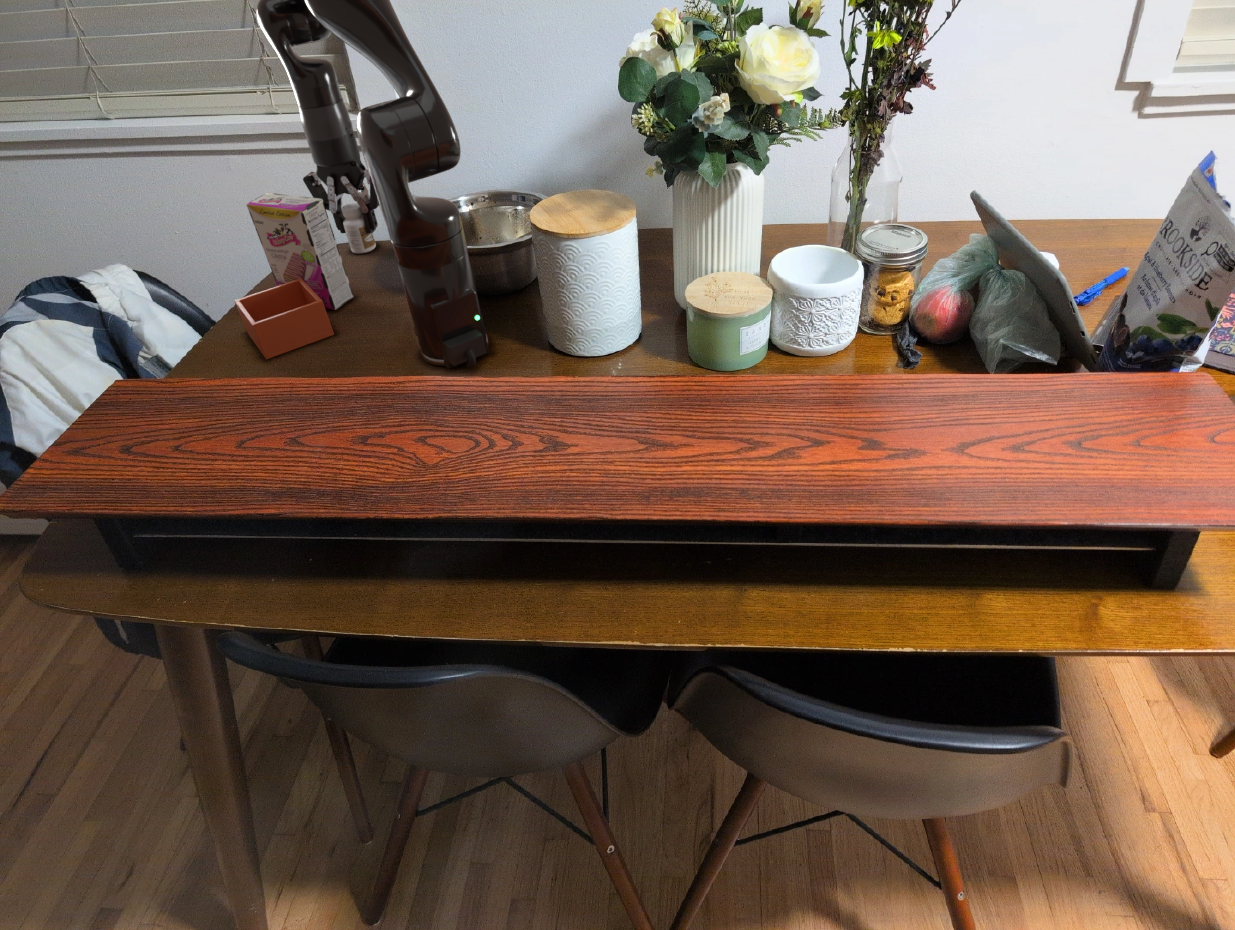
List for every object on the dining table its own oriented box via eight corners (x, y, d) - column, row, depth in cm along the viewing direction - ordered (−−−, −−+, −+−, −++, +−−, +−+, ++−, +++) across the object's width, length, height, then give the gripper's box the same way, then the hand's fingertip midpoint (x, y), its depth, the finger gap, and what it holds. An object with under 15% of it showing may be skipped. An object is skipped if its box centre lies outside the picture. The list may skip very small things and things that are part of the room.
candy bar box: (281, 303, 136) (243, 203, 125) (302, 289, 139) (267, 191, 129) (335, 312, 131) (300, 209, 121) (355, 297, 135) (323, 196, 125)
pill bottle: (373, 253, 148) (360, 210, 143) (348, 255, 148) (335, 212, 143) (379, 242, 151) (367, 200, 147) (355, 244, 152) (342, 202, 147)
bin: (334, 334, 125) (322, 300, 122) (266, 359, 122) (252, 325, 118) (312, 310, 132) (301, 277, 129) (247, 333, 128) (233, 300, 125)
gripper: (278, 140, 136) (312, 241, 146) (359, 137, 133) (388, 240, 143) (300, 125, 142) (331, 223, 152) (378, 121, 139) (405, 222, 149)
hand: (358, 230), depth 148 cm, fingers closed on pill bottle, 4 cm apart
